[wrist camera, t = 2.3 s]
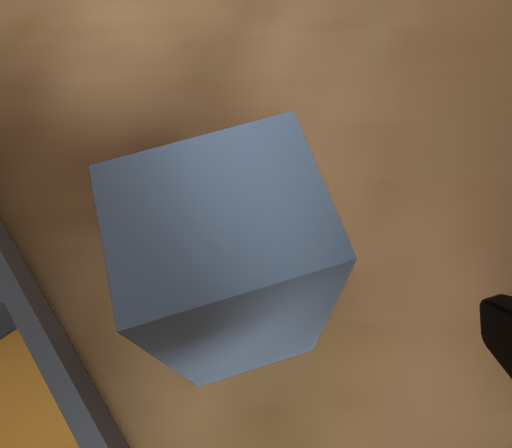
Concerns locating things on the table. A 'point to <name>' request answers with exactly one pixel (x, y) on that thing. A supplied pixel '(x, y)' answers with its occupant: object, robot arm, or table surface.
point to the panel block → (222, 248)
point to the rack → (43, 371)
